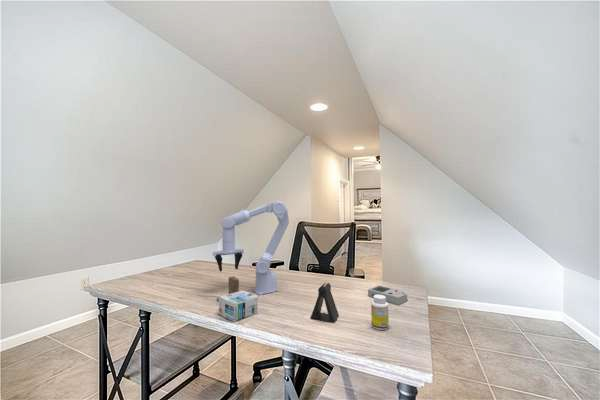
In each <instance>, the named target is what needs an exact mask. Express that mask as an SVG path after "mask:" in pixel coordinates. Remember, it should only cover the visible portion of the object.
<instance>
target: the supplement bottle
mask: <svg viewBox="0 0 600 400" xmlns="http://www.w3.org/2000/svg"><path fill="white" fill-rule="evenodd" d="M370 307H371V327H372V328H374V329H375V330H379V331H385V330H386V331H387V330H388V329H389V327H390V321H389V319H390V318H389V317H390V316H389V315H390V314H389V312H390V311H389V302H387V301H386V297H385V296H383V295H374V298H373V300H372V301H371V305H370Z"/></svg>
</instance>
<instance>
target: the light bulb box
mask: <svg viewBox="0 0 600 400" xmlns="http://www.w3.org/2000/svg"><path fill="white" fill-rule="evenodd" d="M218 298H219V302H218V314H219V315H220V316H222V317H224V318H226V319H227V320H230V321H231V322H237V321H239V320H242V319H246V318H248V317H251V316H254V315H257V314H258V313H259V311H258V310H259V309H258V307H259V306H258V305H259V304H258V303H259V297H258V295H255V294H252V293H250V292H249V291H248V292H247V291H245V290H239V292H235V293H231V294H229V293H227V294H224V295H220V296H219V297H218Z"/></svg>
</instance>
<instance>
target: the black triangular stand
mask: <svg viewBox="0 0 600 400" xmlns="http://www.w3.org/2000/svg"><path fill="white" fill-rule="evenodd" d="M331 288H332V286H331V284H330V283H329V282H327V283H326V282H324V283H323V284H322V285H321V286H319V287H318V290H317V292H318V296H317V298H316V301H315V304H314V307H313V310H312V313H311V316H310V320H313V321H318V322H319V321H320V322H327V323H331V324H335V323H336V321H337V320H338V318H339V311H338V309H337V306H336V302H335V300H334V297H333V293H332V290H331ZM323 303H324V304H325V306H326V312H327V313H325V312H324V313H323V312H321V311H322V308H323Z"/></svg>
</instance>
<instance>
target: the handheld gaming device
mask: <svg viewBox="0 0 600 400" xmlns="http://www.w3.org/2000/svg"><path fill="white" fill-rule="evenodd" d="M367 295H368V297H371V298H373V299H374V295H383V296H385V297H386V302H387V303H390V304H395V305H397V306H398V305H402V304H404V303H405V302H407V301H408V294H407V293H406V292H404V291H403V290H398V289H395V288H391V287H387V286H382V285H376V286H374V287H370V288H368V289H367Z"/></svg>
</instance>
